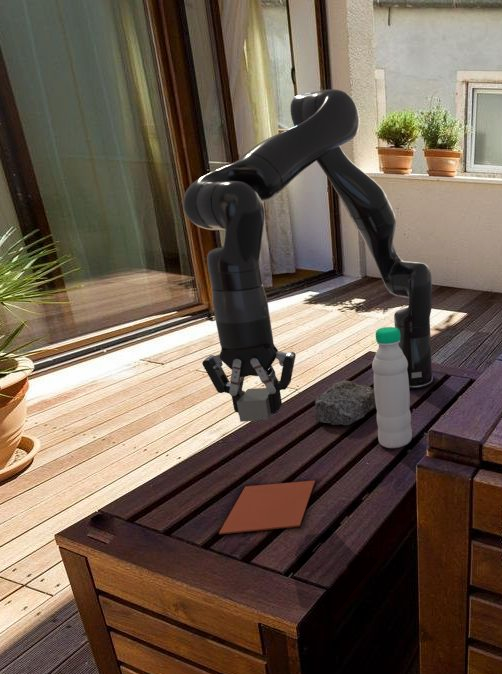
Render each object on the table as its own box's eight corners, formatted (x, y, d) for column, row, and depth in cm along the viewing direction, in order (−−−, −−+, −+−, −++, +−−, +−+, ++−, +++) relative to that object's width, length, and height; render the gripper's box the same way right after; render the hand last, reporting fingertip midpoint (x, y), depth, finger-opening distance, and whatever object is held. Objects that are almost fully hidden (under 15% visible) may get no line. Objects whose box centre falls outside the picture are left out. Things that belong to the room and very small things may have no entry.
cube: (250, 407, 81) (247, 388, 80) (277, 406, 82) (274, 387, 81) (240, 421, 77) (236, 401, 75) (268, 420, 77) (265, 400, 76)
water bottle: (401, 452, 96) (393, 336, 88) (371, 446, 98) (361, 332, 90) (418, 435, 103) (412, 326, 94) (389, 430, 105) (381, 322, 97)
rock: (352, 432, 104) (385, 405, 118) (351, 406, 102) (385, 381, 116) (303, 423, 107) (341, 397, 121) (300, 397, 105) (339, 374, 119)
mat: (245, 487, 85) (245, 486, 85) (315, 481, 87) (315, 480, 86) (219, 534, 73) (218, 533, 73) (299, 526, 75) (299, 525, 75)
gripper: (296, 307, 78) (308, 400, 84) (203, 310, 76) (222, 405, 82) (284, 319, 71) (298, 420, 77) (181, 322, 69) (203, 426, 75)
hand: (259, 412), depth 79 cm, fingers closed on cube, 4 cm apart
